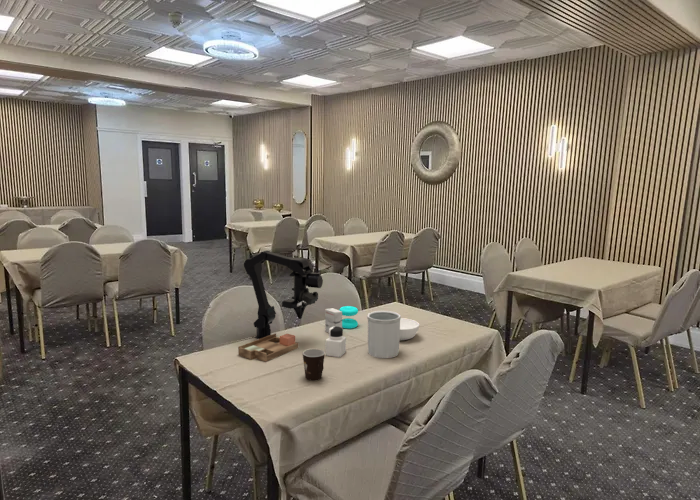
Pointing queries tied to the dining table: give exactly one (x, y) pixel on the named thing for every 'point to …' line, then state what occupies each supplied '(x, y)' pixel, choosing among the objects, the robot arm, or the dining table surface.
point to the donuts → (349, 322)
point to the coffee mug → (313, 363)
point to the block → (287, 339)
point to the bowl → (408, 328)
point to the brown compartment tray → (265, 348)
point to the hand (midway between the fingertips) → (300, 318)
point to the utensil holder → (383, 334)
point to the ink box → (332, 318)
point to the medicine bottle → (335, 342)
